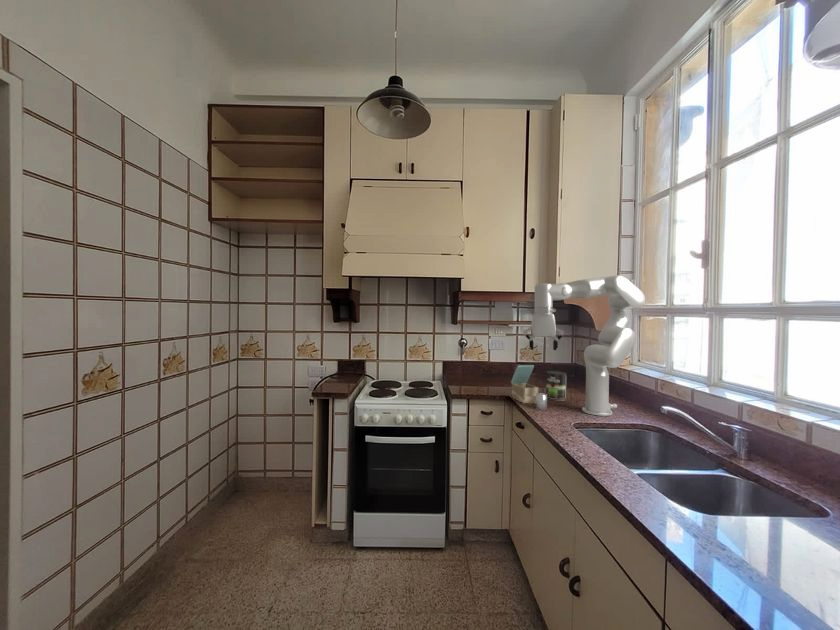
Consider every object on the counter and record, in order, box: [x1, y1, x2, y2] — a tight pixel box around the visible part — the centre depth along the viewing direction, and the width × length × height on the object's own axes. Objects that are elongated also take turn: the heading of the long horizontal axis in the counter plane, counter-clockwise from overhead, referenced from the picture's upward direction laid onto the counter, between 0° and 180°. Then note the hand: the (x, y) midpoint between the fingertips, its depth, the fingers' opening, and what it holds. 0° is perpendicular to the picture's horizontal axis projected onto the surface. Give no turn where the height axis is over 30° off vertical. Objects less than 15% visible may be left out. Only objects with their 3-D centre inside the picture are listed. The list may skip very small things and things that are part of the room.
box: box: [511, 382, 540, 404], centre depth 180 cm, size 9×12×8 cm
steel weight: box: [535, 392, 548, 410], centre depth 165 cm, size 5×5×7 cm
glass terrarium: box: [545, 370, 567, 399], centre depth 186 cm, size 10×10×14 cm
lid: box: [510, 364, 535, 385], centre depth 183 cm, size 9×12×1 cm
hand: (543, 349), depth 152 cm, fingers open, 9 cm apart
